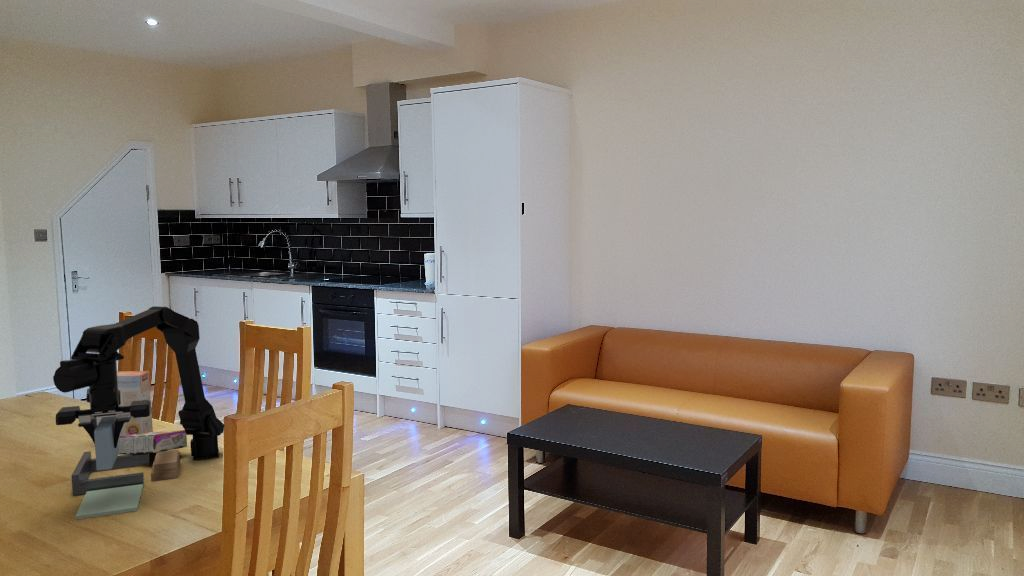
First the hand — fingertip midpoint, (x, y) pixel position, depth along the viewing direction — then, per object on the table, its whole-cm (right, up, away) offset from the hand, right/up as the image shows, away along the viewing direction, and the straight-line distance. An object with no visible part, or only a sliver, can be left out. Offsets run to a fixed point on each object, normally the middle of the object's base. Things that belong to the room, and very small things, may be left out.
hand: (107, 448), depth 166 cm
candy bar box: (-13, -6, +33) cm, 36 cm away
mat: (0, -13, +1) cm, 13 cm away
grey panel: (0, -3, 0) cm, 3 cm away
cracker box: (-19, -8, +43) cm, 48 cm away
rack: (-7, -11, +16) cm, 21 cm away
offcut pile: (+4, -11, +20) cm, 23 cm away
